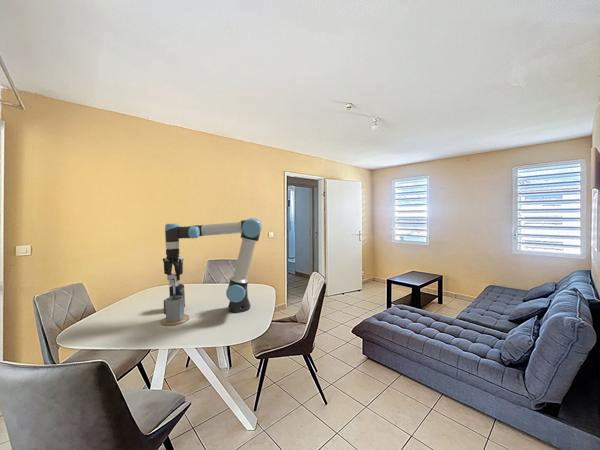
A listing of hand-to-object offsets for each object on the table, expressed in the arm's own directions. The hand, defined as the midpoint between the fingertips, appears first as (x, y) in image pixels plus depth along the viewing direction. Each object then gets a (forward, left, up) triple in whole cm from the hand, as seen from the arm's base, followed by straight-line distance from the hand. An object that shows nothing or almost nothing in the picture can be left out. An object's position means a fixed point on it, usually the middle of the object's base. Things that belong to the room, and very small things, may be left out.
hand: (173, 285), depth 156 cm
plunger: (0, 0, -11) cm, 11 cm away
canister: (+12, -17, -23) cm, 31 cm away
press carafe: (0, 0, -22) cm, 22 cm away
